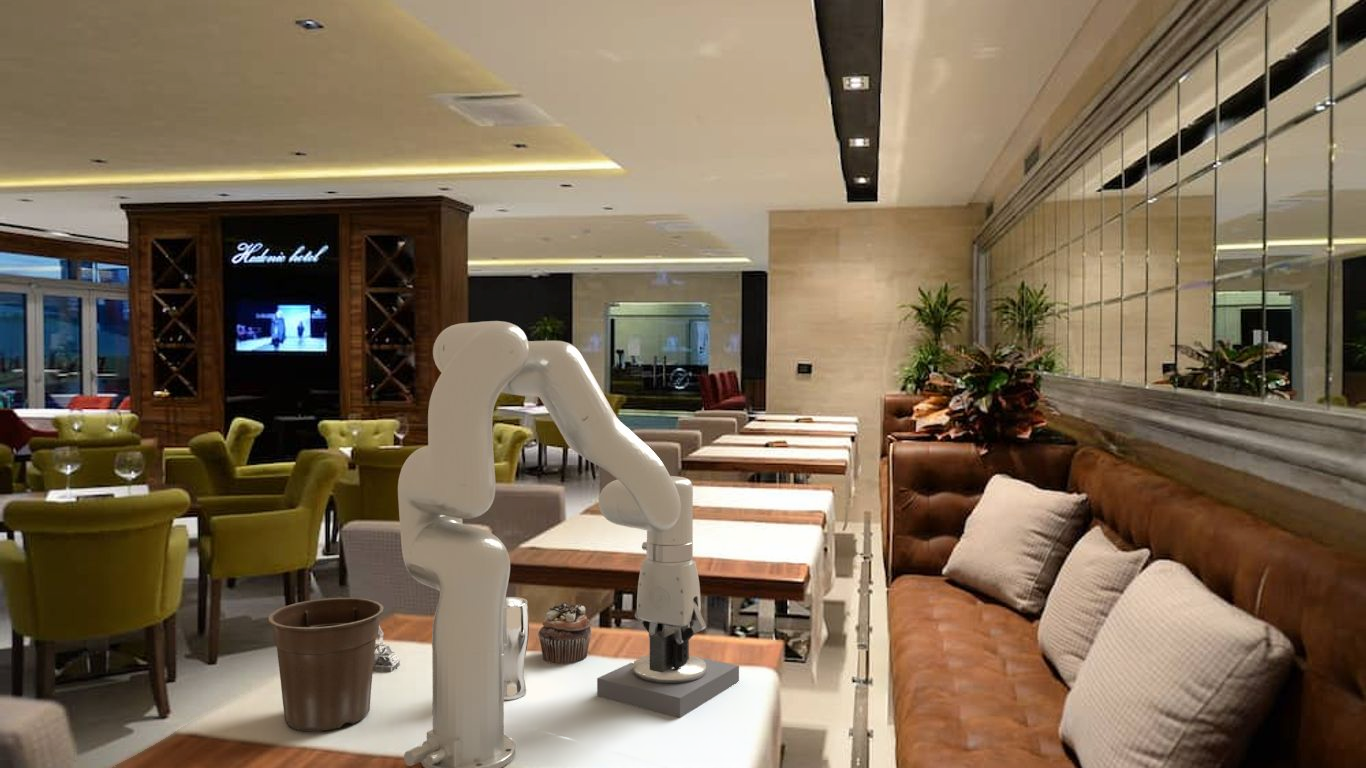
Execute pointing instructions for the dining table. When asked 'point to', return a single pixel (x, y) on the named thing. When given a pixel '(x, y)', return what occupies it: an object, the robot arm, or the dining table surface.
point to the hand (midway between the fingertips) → (669, 662)
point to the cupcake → (565, 634)
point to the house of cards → (384, 656)
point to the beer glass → (515, 646)
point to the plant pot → (326, 660)
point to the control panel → (667, 688)
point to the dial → (667, 661)
